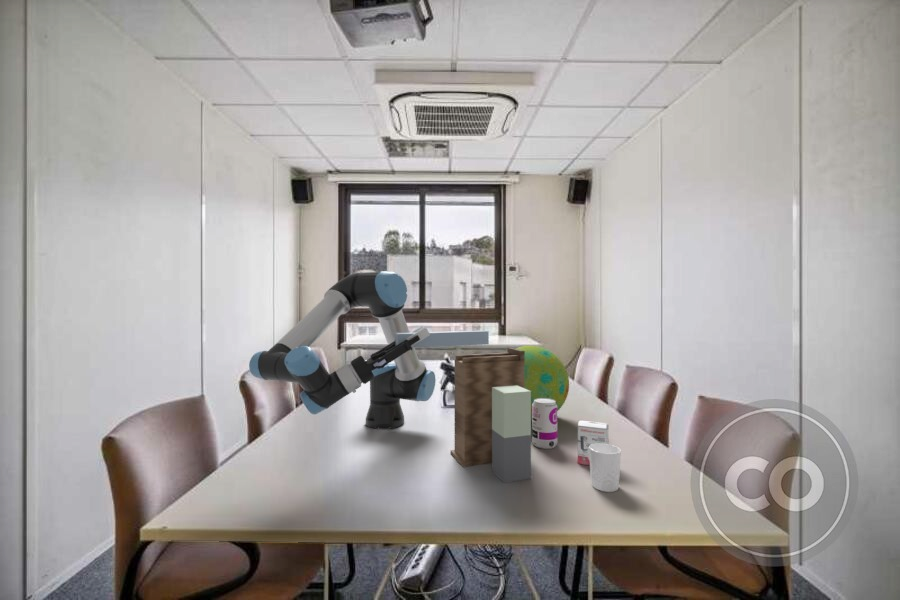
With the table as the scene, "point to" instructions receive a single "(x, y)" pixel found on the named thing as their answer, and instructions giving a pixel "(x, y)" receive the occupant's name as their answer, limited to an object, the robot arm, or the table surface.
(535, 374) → the globe
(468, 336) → the pale blue bar
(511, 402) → the upper block
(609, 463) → the white cup
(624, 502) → the table surface
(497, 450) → the lower block
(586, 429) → the ink box
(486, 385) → the stand
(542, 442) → the supplement can
